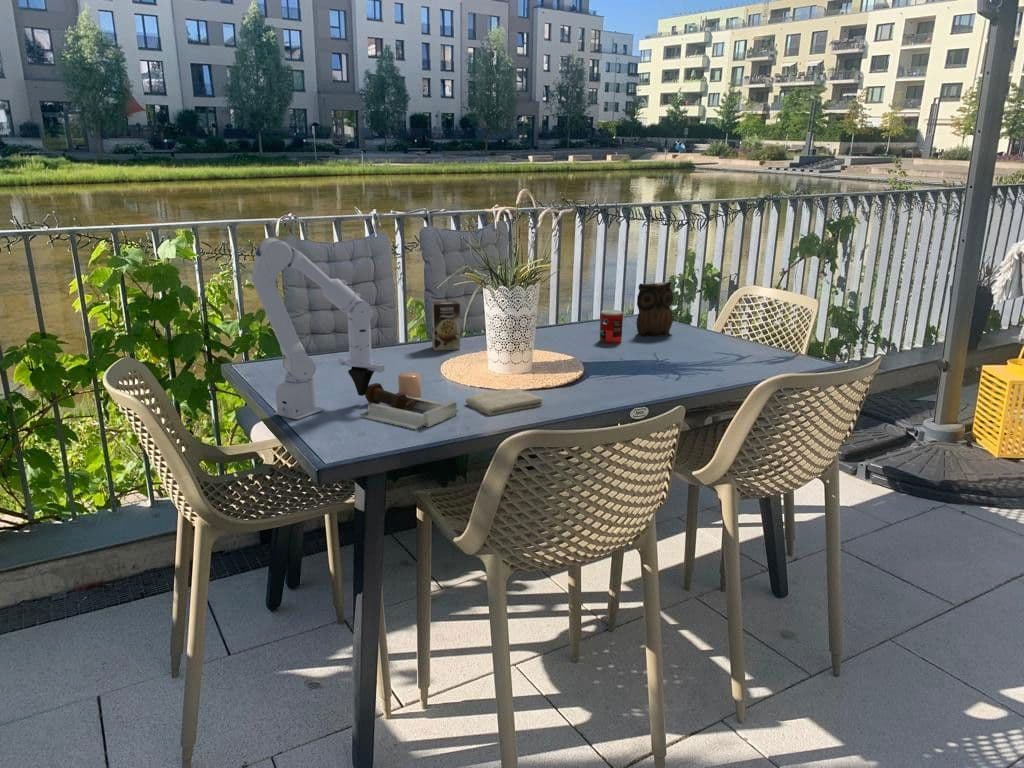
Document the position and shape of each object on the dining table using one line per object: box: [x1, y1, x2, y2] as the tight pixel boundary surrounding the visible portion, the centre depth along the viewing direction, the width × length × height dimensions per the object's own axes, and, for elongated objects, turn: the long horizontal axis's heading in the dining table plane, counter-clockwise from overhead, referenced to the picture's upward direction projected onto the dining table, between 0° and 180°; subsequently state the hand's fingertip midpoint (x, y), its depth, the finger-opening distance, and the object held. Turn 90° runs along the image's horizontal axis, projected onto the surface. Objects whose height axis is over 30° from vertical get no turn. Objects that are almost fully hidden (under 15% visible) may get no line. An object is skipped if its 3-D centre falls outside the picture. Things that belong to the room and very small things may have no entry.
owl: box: [636, 281, 675, 337], centre depth 284 cm, size 13×13×20 cm
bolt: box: [364, 382, 415, 412], centre depth 196 cm, size 6×5×15 cm
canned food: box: [599, 309, 624, 345], centre depth 273 cm, size 8×8×11 cm
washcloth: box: [465, 387, 543, 416], centre depth 200 cm, size 12×18×3 cm, turn 124°
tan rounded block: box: [397, 371, 422, 398], centre depth 206 cm, size 6×6×6 cm
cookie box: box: [431, 300, 461, 352], centre depth 260 cm, size 9×6×16 cm
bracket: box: [359, 395, 460, 431], centre depth 191 cm, size 18×20×4 cm
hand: (362, 394), depth 200 cm, fingers closed
